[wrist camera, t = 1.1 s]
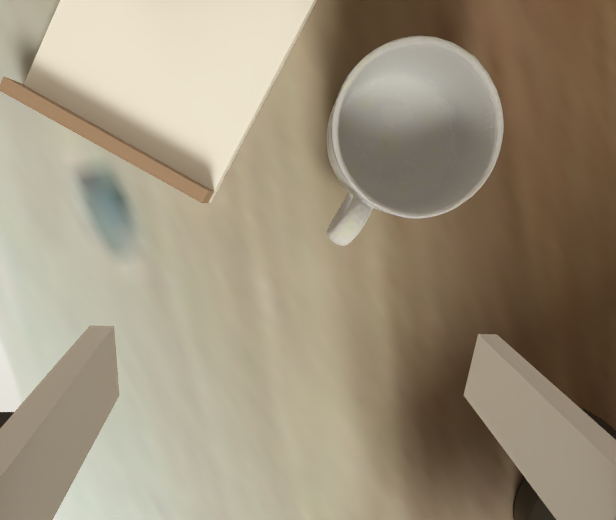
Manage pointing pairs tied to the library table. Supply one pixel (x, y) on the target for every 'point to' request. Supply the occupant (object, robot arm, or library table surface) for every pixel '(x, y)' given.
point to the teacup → (412, 132)
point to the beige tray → (163, 79)
